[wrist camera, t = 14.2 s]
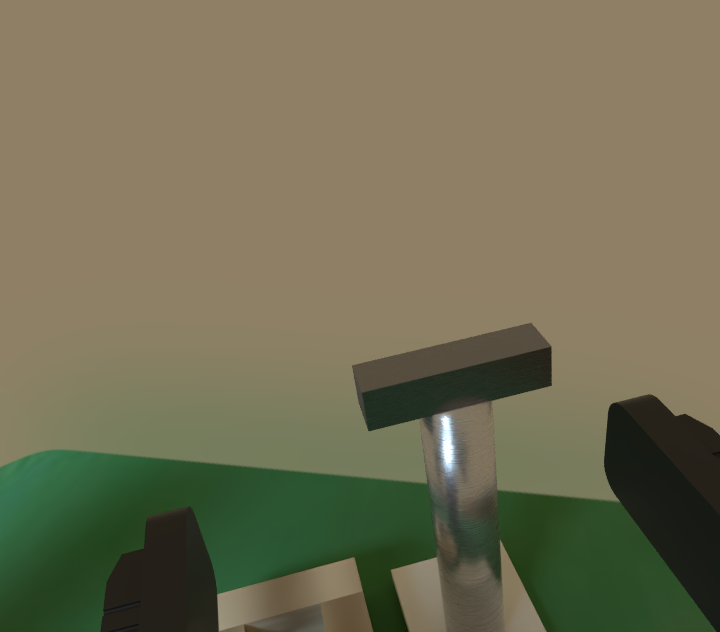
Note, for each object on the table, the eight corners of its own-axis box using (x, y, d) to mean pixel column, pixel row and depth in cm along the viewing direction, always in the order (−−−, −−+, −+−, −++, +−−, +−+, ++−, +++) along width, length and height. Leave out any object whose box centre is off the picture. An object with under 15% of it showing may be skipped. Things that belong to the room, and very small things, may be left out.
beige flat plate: (442, 745, 34) (441, 734, 33) (392, 580, 42) (390, 569, 42) (576, 704, 34) (577, 693, 34) (500, 550, 43) (500, 539, 42)
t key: (412, 673, 36) (364, 401, 27) (397, 621, 39) (349, 358, 29) (556, 631, 37) (557, 354, 28) (531, 583, 39) (525, 316, 30)
